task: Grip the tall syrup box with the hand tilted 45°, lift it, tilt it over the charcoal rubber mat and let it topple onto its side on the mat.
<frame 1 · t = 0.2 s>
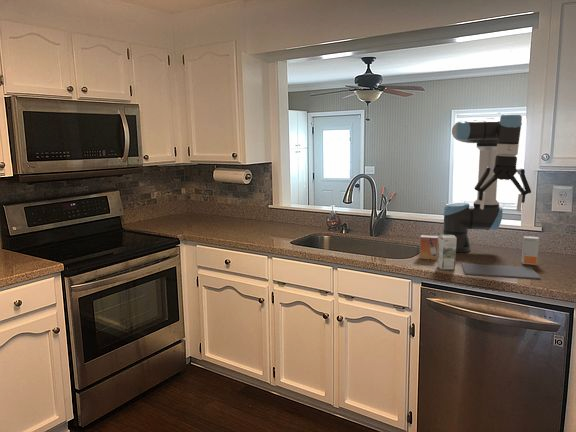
hand: (500, 210, 183), 27 cm above the worktop, tool pointing down, fingers open, 13 cm apart
syrup box: (446, 269, 202), on the worktop
small box: (428, 258, 220), on the worktop
skincare box: (529, 264, 208), on the worktop
charcoal mat: (498, 271, 196), on the worktop
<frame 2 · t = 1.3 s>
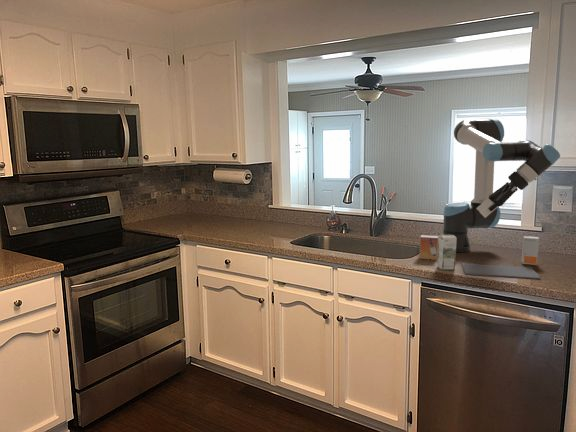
hand: (480, 213, 194), 25 cm above the worktop, tool tilted 45°, fingers open, 13 cm apart
nothing on the worktop moved.
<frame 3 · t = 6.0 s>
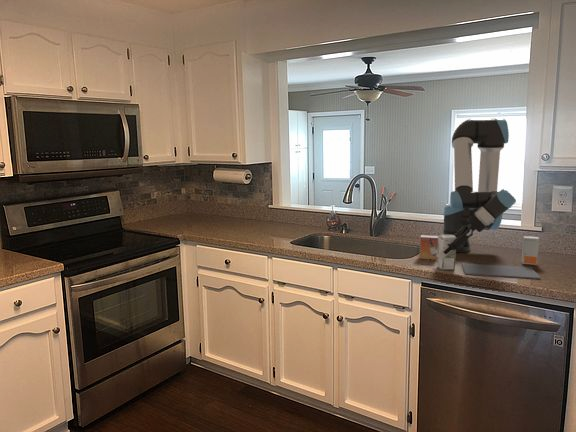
hand: (438, 255, 202), 6 cm above the worktop, tool tilted 45°, fingers closed on syrup box, 7 cm apart
syrup box: (446, 268, 202), on the worktop, touching gripper
everything else where it was.
when the fingers open (6 cm above the worktop, at t = 12.5 s): syrup box moves 2 cm, resting on charcoal mat.
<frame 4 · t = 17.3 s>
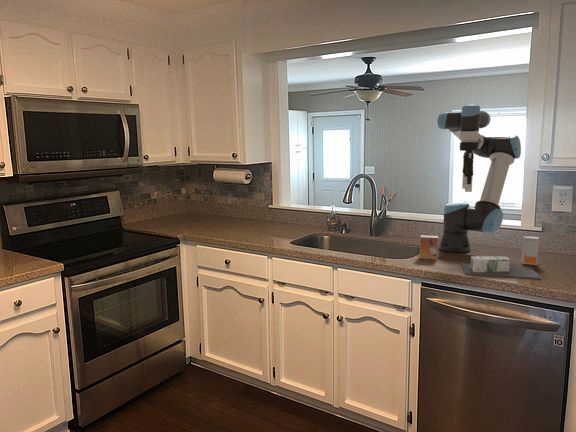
hand: (466, 190, 207), 33 cm above the worktop, tool pointing down, fingers open, 13 cm apart
syrup box: (508, 264, 194), point 3 cm above the worktop, touching charcoal mat
everything else where it was.
at the end: syrup box tilted 90°; syrup box inside the target area on the charcoal mat (3.6 cm from its centre), point 3.5 cm above the charcoal mat's base; the gripper is holding nothing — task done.
